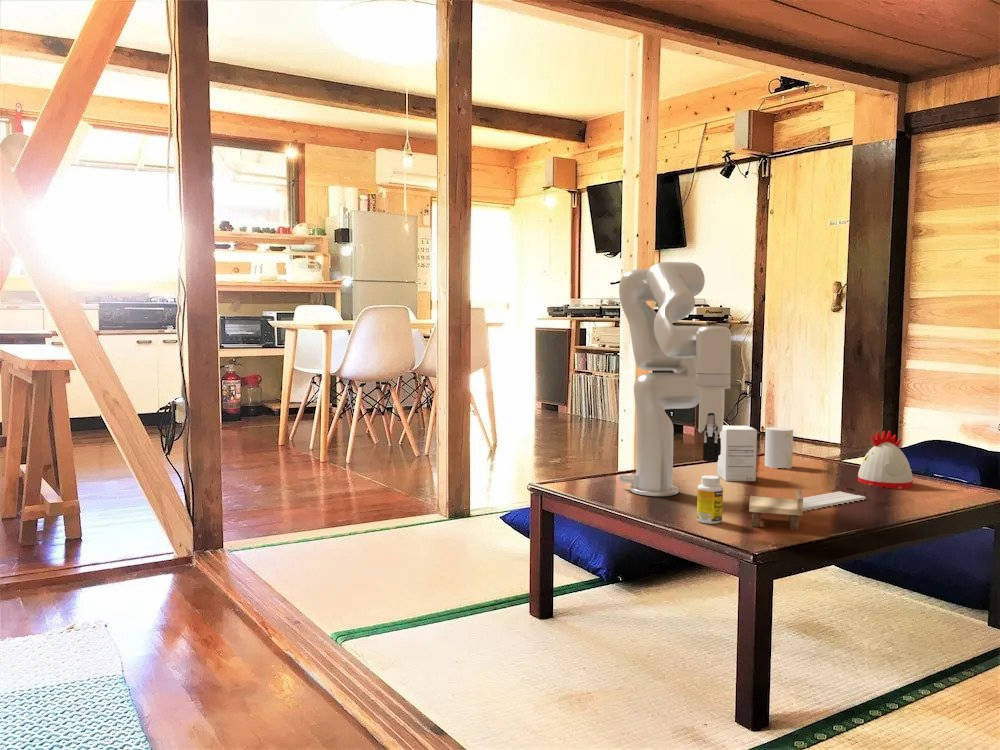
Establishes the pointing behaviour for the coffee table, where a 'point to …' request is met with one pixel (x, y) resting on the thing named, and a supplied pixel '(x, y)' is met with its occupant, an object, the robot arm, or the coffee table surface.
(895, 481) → the kitchen timer
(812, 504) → the baseboard
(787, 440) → the cup
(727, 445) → the supplement box
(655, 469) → the robot arm
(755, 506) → the shelf
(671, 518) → the coffee table surface
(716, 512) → the supplement bottle
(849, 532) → the coffee table surface
